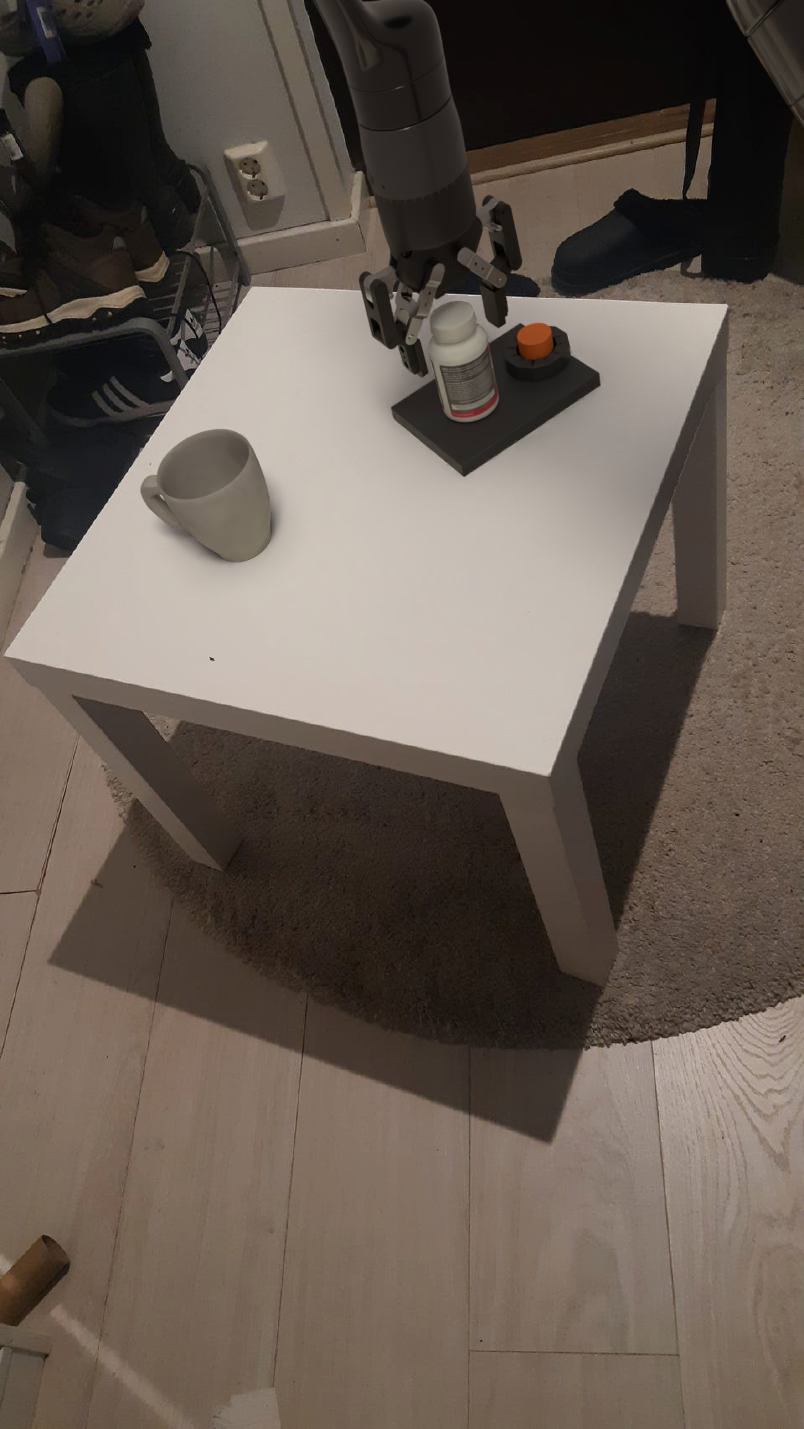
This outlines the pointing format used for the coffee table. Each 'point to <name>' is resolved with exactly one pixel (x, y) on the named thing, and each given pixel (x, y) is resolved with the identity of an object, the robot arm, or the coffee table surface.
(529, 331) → the button
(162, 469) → the mug
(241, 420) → the coffee table surface
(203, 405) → the coffee table surface
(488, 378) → the pill bottle
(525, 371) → the scale
